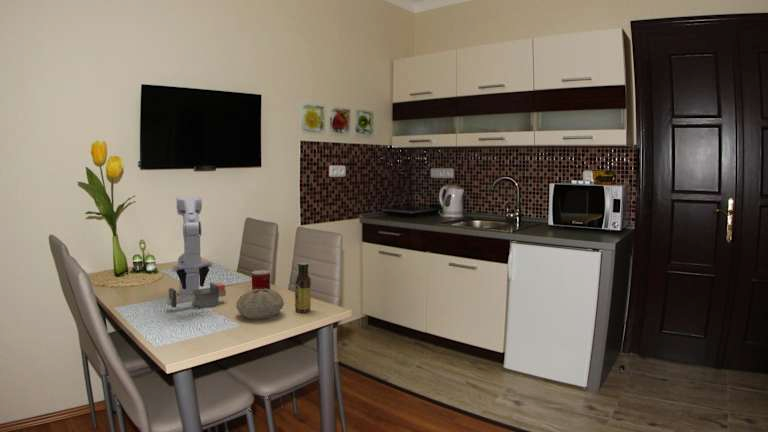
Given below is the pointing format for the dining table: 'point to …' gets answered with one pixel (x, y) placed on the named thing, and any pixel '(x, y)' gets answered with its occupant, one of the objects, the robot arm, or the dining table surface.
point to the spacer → (221, 287)
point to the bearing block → (207, 297)
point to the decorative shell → (259, 303)
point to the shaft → (184, 297)
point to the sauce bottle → (303, 289)
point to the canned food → (260, 279)
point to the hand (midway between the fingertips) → (193, 287)
